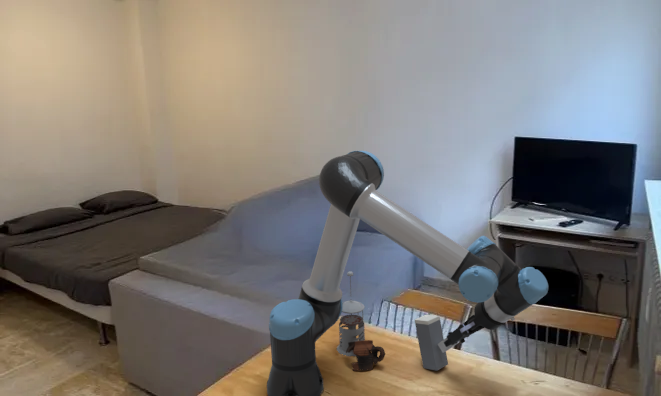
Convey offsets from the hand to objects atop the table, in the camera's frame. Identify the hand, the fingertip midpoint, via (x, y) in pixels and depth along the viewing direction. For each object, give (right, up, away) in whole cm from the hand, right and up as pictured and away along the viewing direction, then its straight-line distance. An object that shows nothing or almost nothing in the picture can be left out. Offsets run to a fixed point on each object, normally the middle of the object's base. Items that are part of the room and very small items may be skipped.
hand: (441, 347), depth 148 cm
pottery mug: (-21, -7, +7) cm, 23 cm away
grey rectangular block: (-1, -6, +3) cm, 7 cm away
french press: (-24, -5, +17) cm, 29 cm away
